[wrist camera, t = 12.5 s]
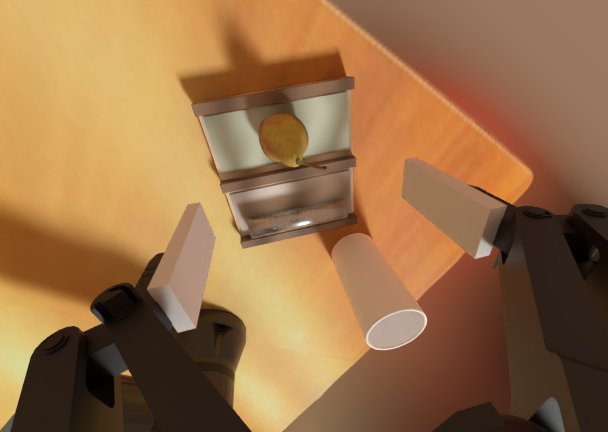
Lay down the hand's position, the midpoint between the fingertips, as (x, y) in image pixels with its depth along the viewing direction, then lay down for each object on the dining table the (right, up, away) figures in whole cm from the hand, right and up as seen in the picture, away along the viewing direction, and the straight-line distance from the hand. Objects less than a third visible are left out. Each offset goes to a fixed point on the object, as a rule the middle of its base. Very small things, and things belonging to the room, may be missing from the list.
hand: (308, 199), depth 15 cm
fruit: (-3, +9, +14) cm, 17 cm away
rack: (-3, +6, +18) cm, 19 cm away
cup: (+9, -7, +29) cm, 31 cm away
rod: (-2, 0, +19) cm, 19 cm away
